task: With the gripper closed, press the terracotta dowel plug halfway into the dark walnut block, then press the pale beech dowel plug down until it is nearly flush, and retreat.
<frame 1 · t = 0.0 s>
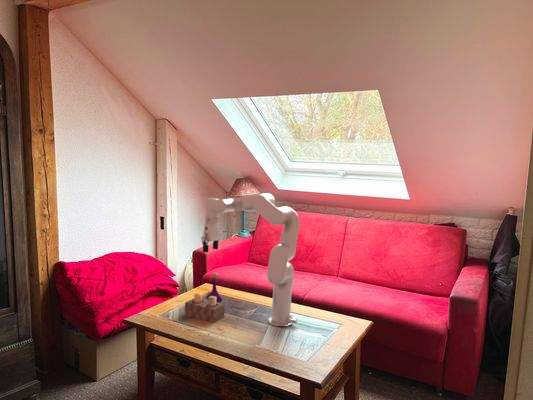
hand: (210, 250, 225), 31 cm above the table, tool pointing down, fingers open, 9 cm apart
beech plug: (212, 303, 208), point 8 cm above the table, slide at 0.0 cm
perfume bottle: (213, 304, 230), on the table
terracotta plug: (198, 300, 212), point 8 cm above the table, slide at 0.0 cm
walnut block: (204, 316, 211), on the table
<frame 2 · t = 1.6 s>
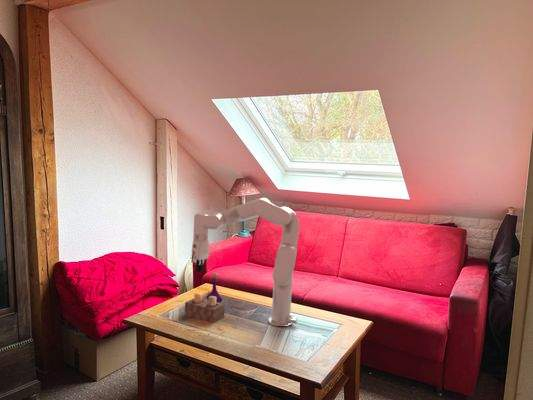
hand: (199, 271, 211), 23 cm above the table, tool pointing down, fingers closed
nothing on the table moved.
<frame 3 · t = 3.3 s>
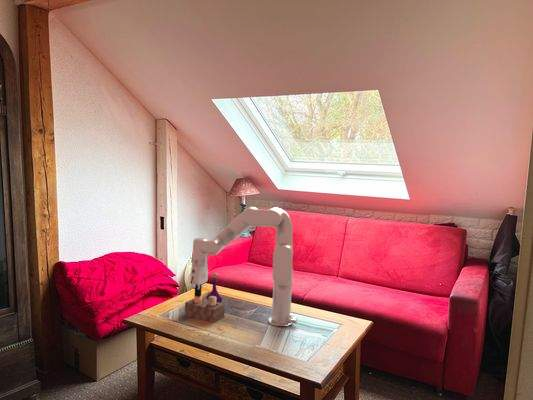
hand: (197, 295, 212), 10 cm above the table, tool pointing down, fingers closed
terracotta plug: (197, 302, 212), point 6 cm above the table, slide at 1.1 cm, touching gripper
everything else where it was.
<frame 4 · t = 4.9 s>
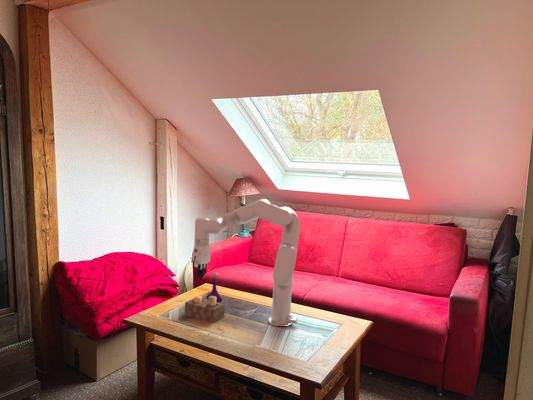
hand: (200, 276, 211), 21 cm above the table, tool pointing down, fingers closed
terracotta plug: (197, 303, 212), point 6 cm above the table, slide at 1.8 cm
everything else where it was.
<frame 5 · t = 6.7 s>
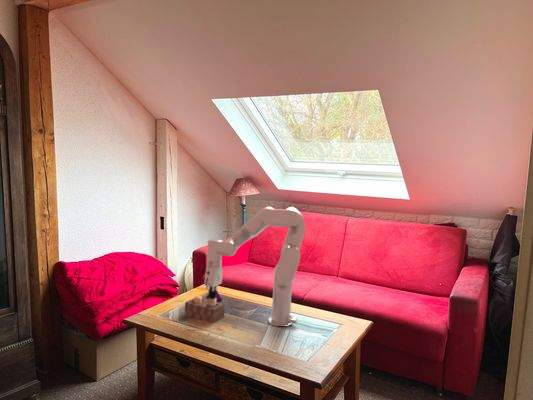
hand: (212, 298, 208), 11 cm above the table, tool pointing down, fingers closed
beech plug: (212, 304, 208), point 7 cm above the table, slide at 0.4 cm, touching gripper
everything else where it was.
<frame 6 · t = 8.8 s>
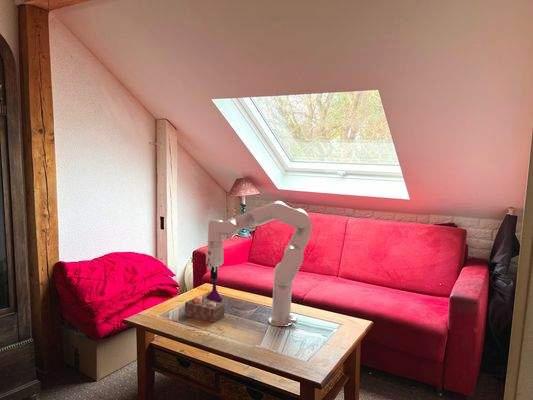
hand: (213, 278, 207), 21 cm above the table, tool pointing down, fingers closed
beech plug: (212, 310, 209), point 4 cm above the table, slide at 3.4 cm
everything else where it was.
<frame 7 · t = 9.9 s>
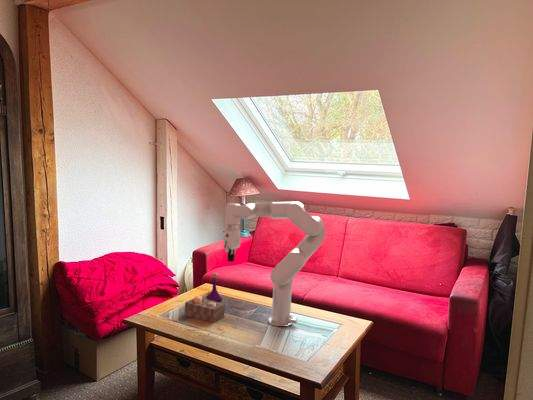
hand: (230, 261, 212), 29 cm above the table, tool pointing down, fingers closed
nothing on the table moved.
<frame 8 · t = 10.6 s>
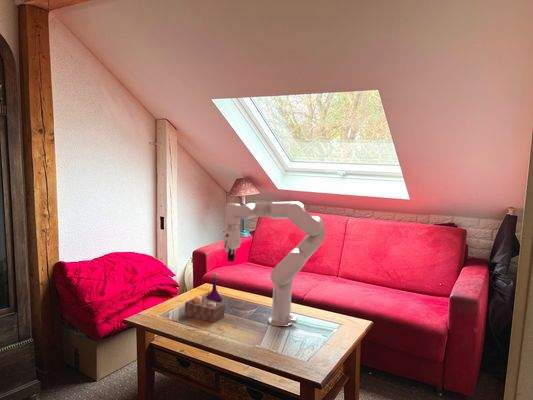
hand: (230, 261, 212), 29 cm above the table, tool pointing down, fingers closed
nothing on the table moved.
at the end: terracotta plug slide at 1.8 cm; beech plug slide at 3.4 cm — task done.
